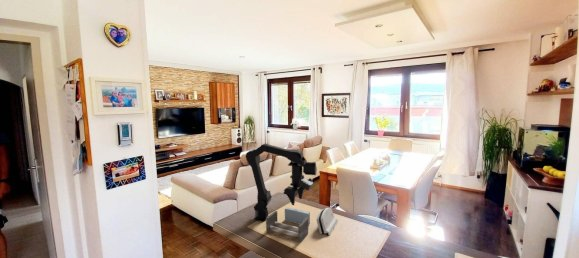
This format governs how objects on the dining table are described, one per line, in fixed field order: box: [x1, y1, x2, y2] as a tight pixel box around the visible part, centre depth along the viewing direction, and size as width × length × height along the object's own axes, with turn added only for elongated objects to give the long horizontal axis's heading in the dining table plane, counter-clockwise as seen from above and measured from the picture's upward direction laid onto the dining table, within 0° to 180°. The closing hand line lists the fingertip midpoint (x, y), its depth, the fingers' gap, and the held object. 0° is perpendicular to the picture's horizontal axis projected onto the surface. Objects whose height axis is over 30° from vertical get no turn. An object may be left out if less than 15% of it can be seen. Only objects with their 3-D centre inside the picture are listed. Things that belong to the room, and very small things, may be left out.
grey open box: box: [265, 210, 309, 244], centre depth 121 cm, size 19×9×8 cm, turn 63°
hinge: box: [316, 207, 339, 236], centre depth 128 cm, size 17×5×10 cm, turn 155°
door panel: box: [284, 206, 311, 227], centre depth 132 cm, size 14×2×7 cm, turn 63°
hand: (296, 201), depth 132 cm, fingers open, 9 cm apart
